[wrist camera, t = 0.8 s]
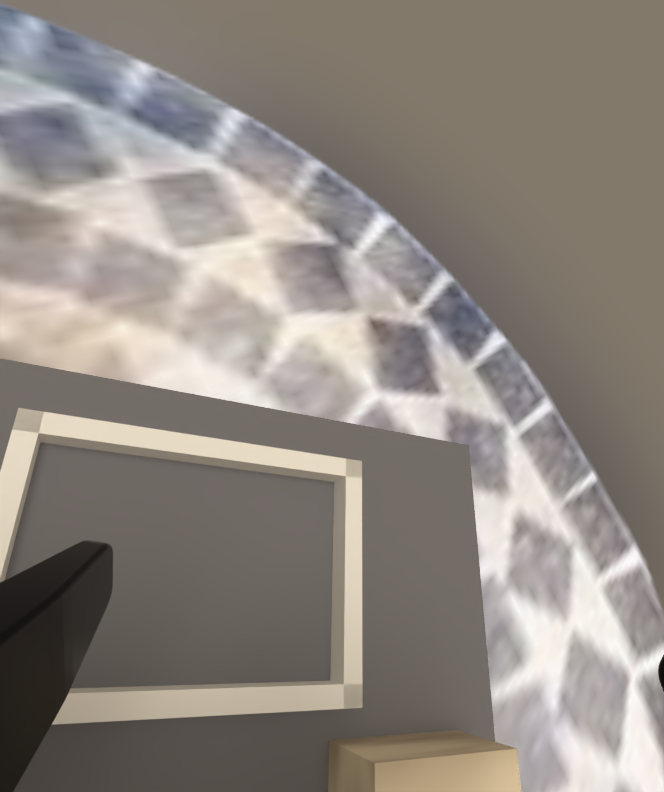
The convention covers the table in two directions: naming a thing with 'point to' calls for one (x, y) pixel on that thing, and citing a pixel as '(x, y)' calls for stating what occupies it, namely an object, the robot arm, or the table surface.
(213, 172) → the table surface
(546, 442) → the table surface
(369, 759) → the slab
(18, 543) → the mat
